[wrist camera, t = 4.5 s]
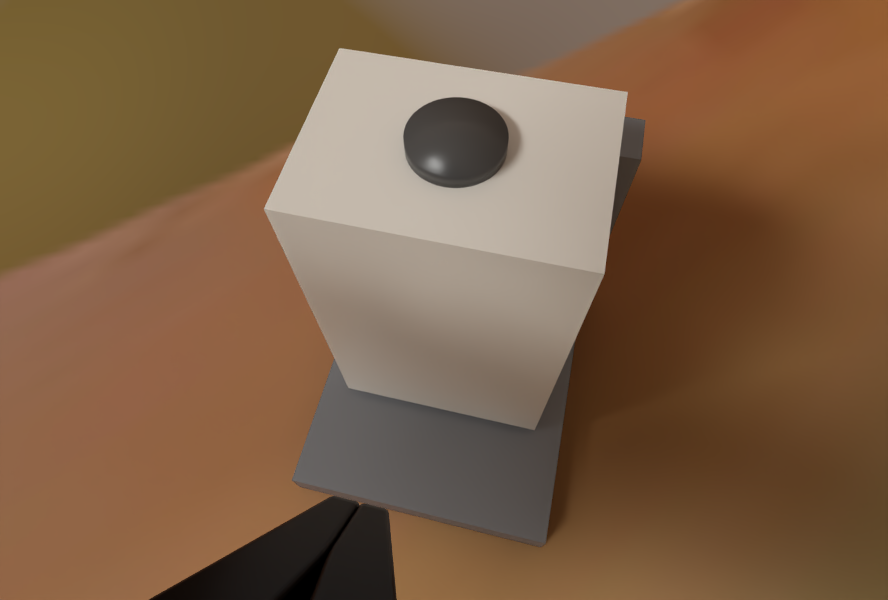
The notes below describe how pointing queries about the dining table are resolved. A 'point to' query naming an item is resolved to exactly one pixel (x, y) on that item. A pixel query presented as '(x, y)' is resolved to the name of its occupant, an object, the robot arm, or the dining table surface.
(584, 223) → the plunger
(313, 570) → the robot arm
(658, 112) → the dining table surface
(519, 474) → the housing
